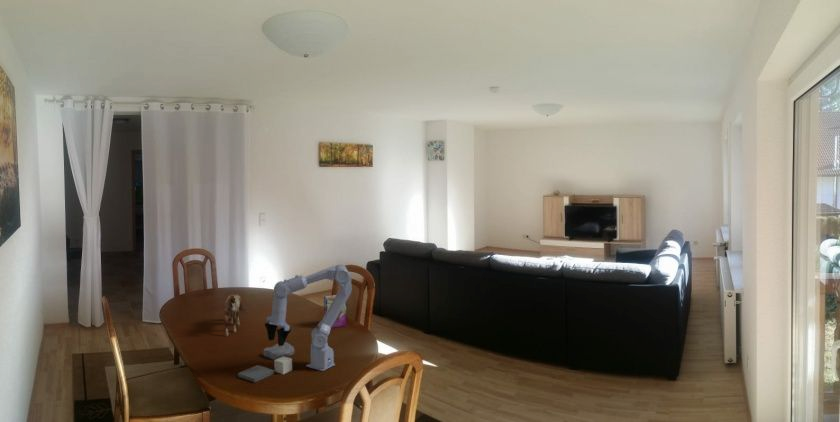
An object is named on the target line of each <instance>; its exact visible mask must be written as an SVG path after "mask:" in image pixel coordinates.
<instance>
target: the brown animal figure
mask: <svg viewBox="0 0 840 422" xmlns="http://www.w3.org/2000/svg"><path fill="white" fill-rule="evenodd" d="M241 299H242V298H241V296H240V295H239V294H230V295H228V296H226V301H225V304H224V309H223V310H224V311H223V313H224V324H225V334H224V335H225V337H228V336H229V334H230V333H229V329H228V327H229V326H228V325H229V324H228V322H229V321H228V320H229V317H231V318H230V319H231V321H230V324H231V325H233V333H237V328H236V327H240V325H241V323H240V318H239V311H240V312H241V313H242V314H245V313H246V310H247V309H245V308H243V305H242V302H241Z"/></svg>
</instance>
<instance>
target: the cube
mask: <svg viewBox="0 0 840 422" xmlns="http://www.w3.org/2000/svg"><path fill="white" fill-rule="evenodd" d="M273 360H274V361H273V365H274V366H273V367H274V373H278V374H281V375H285V374H287V373H289V372H291V371H293V359H292V358H291V357H289V356H287V357H284V356H283V357H281V358H277V359H273Z"/></svg>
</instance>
